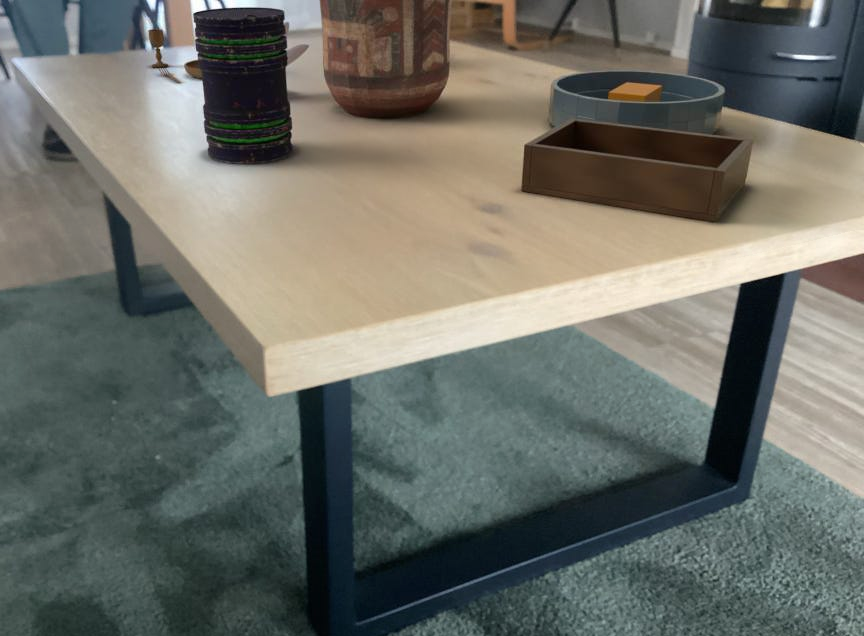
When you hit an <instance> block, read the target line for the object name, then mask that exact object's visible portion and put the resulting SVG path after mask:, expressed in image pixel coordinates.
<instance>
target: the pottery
mask: <svg viewBox="0 0 864 636" xmlns="http://www.w3.org/2000/svg"><path fill="white" fill-rule="evenodd" d="M452 4H453V0H319V8H320V9H319V10H320V19H321V33H322V34H321V35H322V67H323V77H324V80H325V84H326V86H327V88H328V90H329V92H330V94H331V97H332V98H333V100H334V101H335V102H336V104H338V105H339V107H340V108H341V109H342V110H343V111H344V112H345V113H347V114H348V115H353V116H357V117H364V118H372V119H391V118H404V117H412V116H415V115H418V114H422V113H424V112H426V111H428V110H429V109H430V108H431V106H433V104H435V103H436V102H437V101H438V100H439V98H440V97H441V96H442V93H443V92H444V89H445V88H446V86H447V83H448V80H449V76H450V66H451V46H450V45H451V44H450V43H451V42H450V41H451V40H450V39H451V34H450V33H451V32H450V31H451V19H452V16H451V15H452V6H453V5H452Z"/></svg>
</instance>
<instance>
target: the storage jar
mask: <svg viewBox="0 0 864 636" xmlns="http://www.w3.org/2000/svg"><path fill="white" fill-rule="evenodd" d="M192 18H193V22H194V24H195V27H194V35H195V39H194V43H195V51H196V52H197V59H196V60H197V62H198V65H199V69H200V70H201V73H202V79H201V81H202V90H203V99H204V104H203V105H202V110H203V112H202V113H203V118H204V120H203V128H204V133H205V135H206V137H205V139H206V143H207V144H208V148H207V156H208V158H210V159H211V160H213V161H216V162H219V163H225V164H235V165H236V164H237V165H246V164H247V165H249V164H250V165H251V164H262V163H263V164H264V163H269V162H274V161H279V160H282V159H285V158H288V157H289V156H290V155H291V154H293V151H294V150H293V149H294V147H293V144H292V137H293V135H292V129H293V119H292V116H291V114H292V113H291V103H290V101H289V99H288V87H287V85H288V83H287V67H288V65H287V64H288V63H287V60H288V57H287V51H286V50H287V49H288V36H287V37H286V36H284V35H285V33H286V31H285V25H284V23H285V19H286V16H285V11H284V10H283V9H280V8H272V7H257V6H256V7H255V6H251V7H249V6H247V7H245V6H243V7H241V6H239V7H223V8H222V7H221V8H210V9H205V10H204V9H203V10H198V11H195V12H193V13H192ZM198 52H199V53H198Z"/></svg>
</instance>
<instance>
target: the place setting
mask: <svg viewBox="0 0 864 636" xmlns="http://www.w3.org/2000/svg"><path fill="white" fill-rule="evenodd" d="M148 39H149V43H150V45H151V47H153V48H154V50H155V59H156V62H155V63H154V64H152V65H151V67H152V68H155V69H158V70H159V72H160V74H161V76H167V77H168V78H170V79H171V80H172V81H174V82H175V83H180V81H179V80H180V79H178V78H176V77H174V76H173V75H172V74H171V73H170V72H169V70H168V69H167V67H169V63H164V62H163V61H162V58H163V55H162V53H161V48H162V47H163V46H164V44H165V38H164V30H163V29H161V28H155V29H154V28H153V29H148ZM198 53H199V52H197V54H198ZM197 60H198V59H195V60H189V61H187V62H184V64H183V67H184V70H185V73H186V74H188V75H190V76H191V77H194V78H195V79H200V80H202V73H201V70H200V69H199V65H198V62H197Z"/></svg>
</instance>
